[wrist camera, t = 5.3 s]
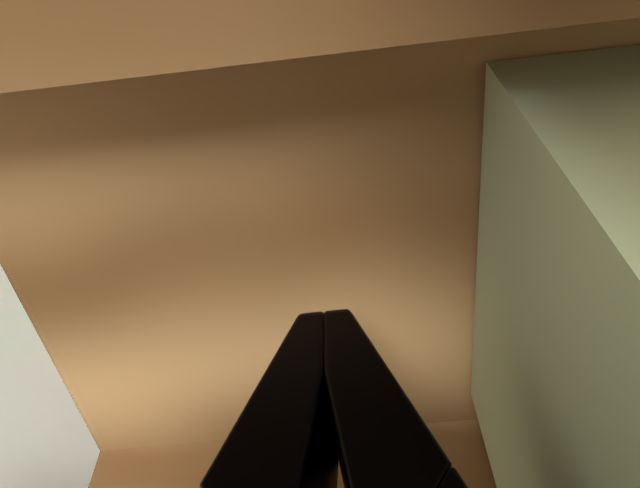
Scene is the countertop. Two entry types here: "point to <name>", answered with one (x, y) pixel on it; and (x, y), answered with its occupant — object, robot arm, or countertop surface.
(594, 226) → the pale green block
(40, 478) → the countertop surface
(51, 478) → the countertop surface
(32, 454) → the countertop surface
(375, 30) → the bay
